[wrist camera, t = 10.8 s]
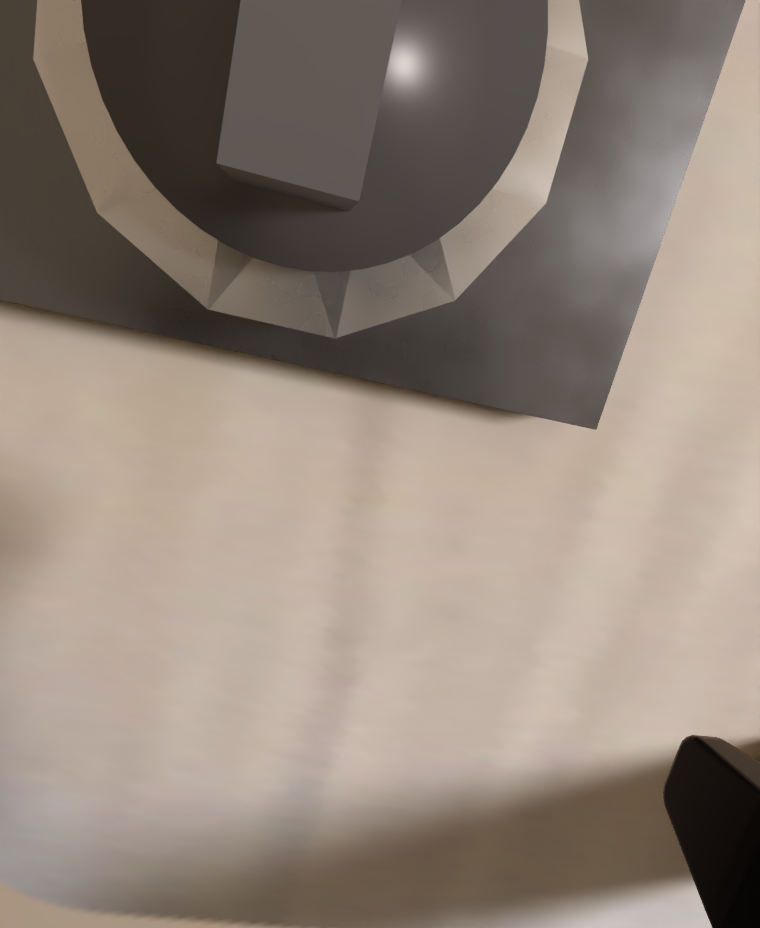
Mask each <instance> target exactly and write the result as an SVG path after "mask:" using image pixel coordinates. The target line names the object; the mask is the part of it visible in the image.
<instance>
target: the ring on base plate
mask: <svg viewBox="0 0 760 928" xmlns="http://www.w3.org/2000/svg"><path fill="white" fill-rule="evenodd" d="M744 3H745V0H548V36H547V46H546V55H545V65H544V70H543V74H542V79H541V83H540V88H539V93H538V97H537V100H536V103H535V106H534V109H533V112H532V115H531V118H530V121H529V124H528V127H527V129H526V131H525V133H524V136H523V138H522V140H521V142H520V144H519V146H518V148H517V150H516V153H515V155H514V156H513V158H512V160H511V161H510V163H509V164H508V166H507V168H506V169H505V171H504V172H503V174H502V176H501V177H500V179H499V181H498V182H497V183H496V184H495V186H494V187H493V188H492V189H491V191H490V192H489V193H488V194H487V195H486V197H485V198H484V199H483V200H482V202H481V203H480V204H479V205H478V206H477V207H476V208H475V209H474V210H473V211H472V212H471V213H470V214H469V215H468V216H467V217H466V218H465V219H463V220H462V221H461V222H460V223H459V224H458V225H457V226H455V227H454V228H453V229H451V230H450V231H449V232H447V233H446V234H445V235H443V236H442V237H440V238H439V239H438V240H436V241H434V242H433V243H431V244H429V245H427V246H425V247H424V248H422V249H420V250H418V251H416V252H415V253H413V254H410V255H407V256H405V257H402V258H400V259H397V260H395V261H392V262H390V263H386V264H382V265H378V266H374V267H370V268H366V269H361V270H351V271H341V272H319V271H304V270H298V269H293V268H287V267H281V266H278V265H274V264H271V263H268V262H265V261H262V260H259V259H255V258H252V257H250V256H248V255H246V254H244V253H242V252H240V251H237V250H235V249H233V248H231V247H229V246H227V245H225V244H223V243H222V242H220V241H219V240H217V239H215V238H214V237H212V236H211V235H209V234H207V233H206V232H204V231H203V230H201V229H200V228H199V227H197V226H196V225H195V224H194V223H192V222H191V221H190V220H189V219H187V218H186V217H185V216H184V215H183V214H181V213H180V212H179V211H178V210H177V209H176V208H175V207H174V206H173V205H172V204H171V203H170V202H169V201H168V200H167V199H166V198H165V197H164V196H163V195H162V194H161V193H160V192H159V191H158V190H157V189H156V188H155V187H154V185H153V184H152V183H151V182H150V180H149V179H148V178H147V176H146V175H145V174H144V172H143V171H142V170H141V169H140V167H139V166H138V165H137V163H136V162H135V161H134V159H133V157H132V156H131V154H130V152H129V151H128V149H127V147H126V146H125V144H124V142H123V141H122V139H121V137H120V136H119V134H118V132H117V131H116V128H115V126H114V124H113V122H112V120H111V117H110V115H109V113H108V111H107V109H106V106H105V104H104V102H103V100H102V97H101V94H100V91H99V88H98V85H97V82H96V79H95V76H94V73H93V70H92V67H91V62H90V57H89V53H88V48H87V43H86V38H85V33H84V27H83V16H82V5H81V0H0V300H4V301H8V302H13V303H17V304H22V305H27V306H31V307H36V308H40V309H45V310H50V311H54V312H59V313H63V314H68V315H72V316H77V317H82V318H86V319H91V320H95V321H100V322H105V323H109V324H114V325H118V326H123V327H128V328H132V329H137V330H141V331H146V332H150V333H155V334H160V335H164V336H169V337H173V338H178V339H183V340H187V341H192V342H196V343H201V344H205V345H210V346H215V347H219V348H224V349H228V350H233V351H238V352H242V353H247V354H251V355H256V356H260V357H265V358H270V359H274V360H279V361H283V362H288V363H293V364H297V365H302V366H306V367H311V368H316V369H320V370H325V371H329V372H334V373H338V374H343V375H348V376H352V377H357V378H361V379H366V380H371V381H375V382H380V383H384V384H389V385H393V386H398V387H403V388H407V389H412V390H416V391H421V392H426V393H430V394H435V395H439V396H444V397H448V398H453V399H458V400H462V401H467V402H471V403H476V404H481V405H485V406H490V407H494V408H499V409H504V410H508V411H513V412H517V413H522V414H526V415H531V416H536V417H540V418H545V419H549V420H554V421H559V422H563V423H568V424H572V425H577V426H581V427H586V428H591V429H595V430H596V428H597V426H598V423H599V420H600V417H601V414H602V411H603V408H604V405H605V403H606V400H607V397H608V394H609V391H610V388H611V385H612V382H613V380H614V377H615V374H616V371H617V368H618V365H619V362H620V359H621V357H622V354H623V351H624V348H625V345H626V342H627V339H628V336H629V334H630V331H631V328H632V325H633V322H634V319H635V316H636V313H637V311H638V308H639V305H640V302H641V299H642V296H643V293H644V290H645V288H646V285H647V282H648V279H649V276H650V273H651V270H652V267H653V265H654V262H655V259H656V256H657V253H658V250H659V247H660V244H661V242H662V239H663V236H664V233H665V230H666V227H667V224H668V221H669V219H670V216H671V213H672V210H673V207H674V204H675V201H676V198H677V196H678V193H679V190H680V187H681V184H682V181H683V178H684V175H685V173H686V170H687V167H688V164H689V161H690V158H691V155H692V152H693V150H694V147H695V144H696V141H697V138H698V135H699V132H700V129H701V127H702V124H703V121H704V118H705V115H706V112H707V109H708V106H709V104H710V101H711V98H712V95H713V92H714V89H715V86H716V83H717V81H718V78H719V75H720V72H721V69H722V66H723V63H724V60H725V58H726V55H727V52H728V49H729V46H730V43H731V40H732V37H733V35H734V32H735V29H736V26H737V23H738V20H739V17H740V14H741V12H742V9H743V6H744Z"/></svg>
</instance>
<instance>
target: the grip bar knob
mask: <svg viewBox="0 0 760 928" xmlns="http://www.w3.org/2000/svg"><path fill="white" fill-rule="evenodd" d="M81 5H82V16H83V27H84V33H85V38H86V43H87V48H88V53H89V57H90V62H91V67H92V70H93V73H94V76H95V79H96V82H97V85H98V88H99V91H100V94H101V97H102V100H103V102H104V104H105V106H106V109H107V111H108V113H109V115H110V117H111V120H112V122H113V124H114V126H115V128H116V131H117V132H118V134H119V136H120V137H121V139H122V141H123V142H124V144H125V146H126V147H127V149H128V151H129V152H130V154H131V156H132V157H133V159H134V161H135V162H136V163H137V165H138V166H139V167H140V169H141V170H142V171H143V172H144V174H145V175H146V176H147V178H148V179H149V180H150V182H151V183H152V184H153V185H154V187H155V188H156V189H157V190H158V191H159V192H160V193H161V194H162V195H163V196H164V197H165V198H166V199H167V200H168V201H169V202H170V203H171V204H172V205H173V206H174V207H175V208H176V209H177V210H178V211H179V212H180V213H181V214H183V215H184V216H185V217H186V218H187V219H189V220H190V221H191V222H192V223H194V224H195V225H196V226H197V227H199V228H200V229H201V230H203V231H204V232H206V233H207V234H209V235H211V236H212V237H214V238H215V239H217V240H219V241H220V242H222V243H223V244H225V245H227V246H229V247H231V248H233V249H235V250H237V251H240V252H242V253H244V254H246V255H248V256H250V257H252V258H255V259H259V260H262V261H265V262H268V263H271V264H274V265H278V266H281V267H287V268H293V269H298V270H304V271H319V272H341V271H351V270H361V269H366V268H370V267H374V266H378V265H382V264H386V263H390V262H392V261H395V260H397V259H400V258H402V257H405V256H407V255H410V254H413V253H415V252H416V251H418V250H420V249H422V248H424V247H425V246H427V245H429V244H431V243H433V242H434V241H436V240H438V239H439V238H440V237H442V236H443V235H445V234H446V233H447V232H449V231H450V230H451V229H453V228H454V227H455V226H457V225H458V224H459V223H460V222H461V221H462V220H463V219H465V218H466V217H467V216H468V215H469V214H470V213H471V212H472V211H473V210H474V209H475V208H476V207H477V206H478V205H479V204H480V203H481V202H482V200H483V199H484V198H485V197H486V195H487V194H488V193H489V192H490V191H491V189H492V188H493V187H494V186H495V184H496V183H497V182H498V181H499V179H500V177H501V176H502V174H503V172H504V171H505V169H506V168H507V166H508V164H509V163H510V161H511V160H512V158H513V156H514V155H515V153H516V150H517V148H518V146H519V144H520V142H521V140H522V138H523V136H524V133H525V131H526V129H527V127H528V124H529V121H530V118H531V115H532V112H533V109H534V106H535V103H536V100H537V97H538V93H539V88H540V83H541V79H542V74H543V70H544V65H545V55H546V46H547V36H548V0H81Z"/></svg>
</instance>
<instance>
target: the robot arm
mask: <svg viewBox="0 0 760 928" xmlns="http://www.w3.org/2000/svg"><path fill="white" fill-rule="evenodd" d="M663 796H664V803H665V807H666V810H667V813H668V815H669V818H670V820H671V823H672V825H673V828H674V831H675V833H676V836H677V838H678V841H679V844H680V846H681V849H682V851H683V854H684V856H685V859H686V862H687V864H688V867H689V869H690V872H691V875H692V877H693V880H694V882H695V885H696V887H697V890H698V893H699V895H700V898H701V900H702V903H703V905H704V908H705V911H706V913H707V916H708V918H709V921H710V923H711V925H712V928H760V762H759V761H757V760H755V759H754V758H752V757H751V756H749V755H747V754H746V753H744V752H742V751H741V750H739V749H737V748H736V747H734V746H733V745H731V744H729V743H728V742H726V741H724V740H722V739H720V738H717V737H708V736H697V735H691V736H688V737H686V738H685V739H684V740H683V741H682V743H681V745H680V747H679V749H678V752H677V754H676V757H675V759H674V762H673V764H672V767H671V769H670V772H669V774H668V777H667V779H666V782H665V785H664V791H663Z"/></svg>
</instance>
